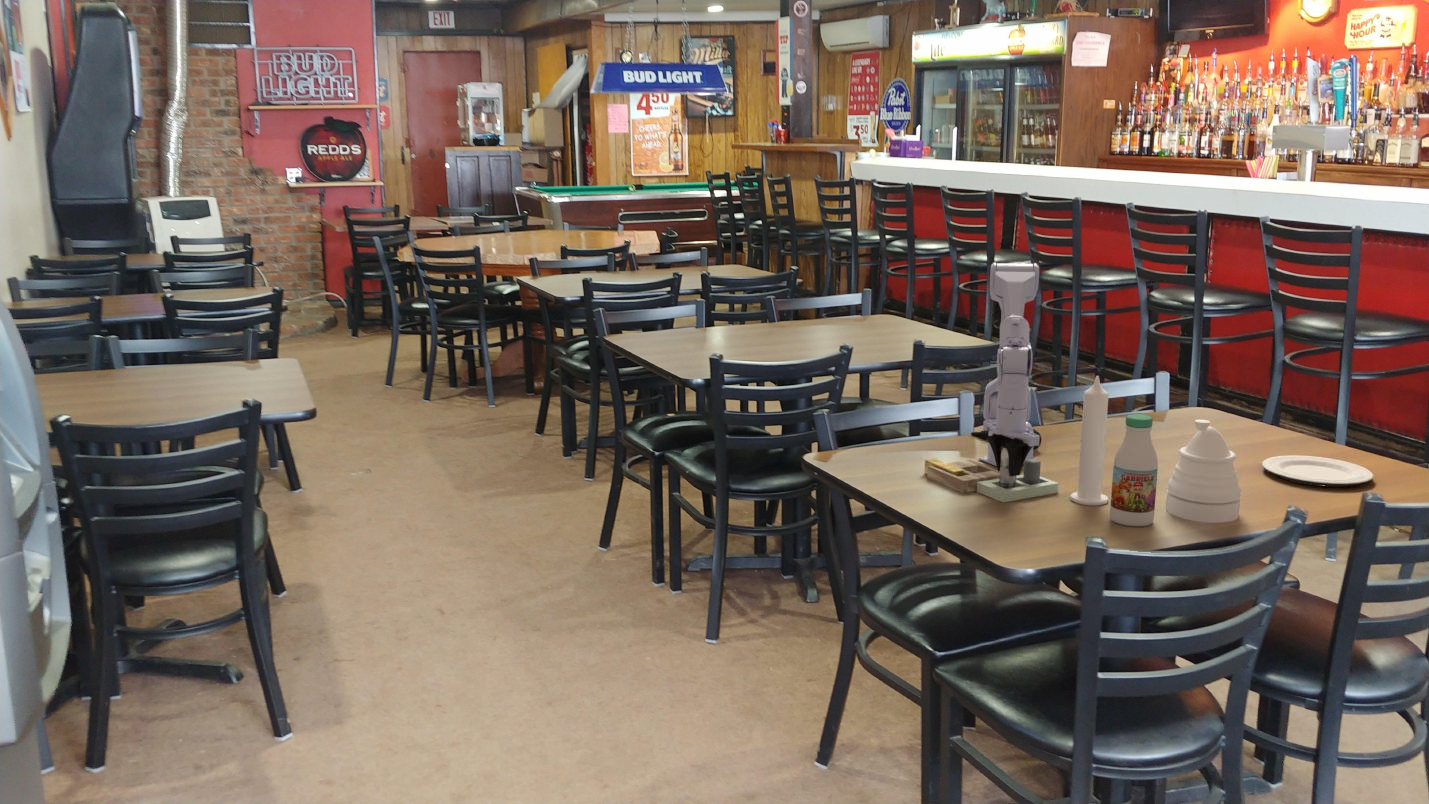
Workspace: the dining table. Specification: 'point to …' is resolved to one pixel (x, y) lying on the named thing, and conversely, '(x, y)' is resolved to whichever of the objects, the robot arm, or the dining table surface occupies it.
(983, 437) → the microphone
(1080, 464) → the candle
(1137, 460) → the milk bottle
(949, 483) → the socket block
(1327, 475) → the plate
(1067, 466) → the dining table surface
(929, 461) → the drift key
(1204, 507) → the honey pot
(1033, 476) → the rack
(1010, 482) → the glass jar
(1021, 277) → the robot arm
